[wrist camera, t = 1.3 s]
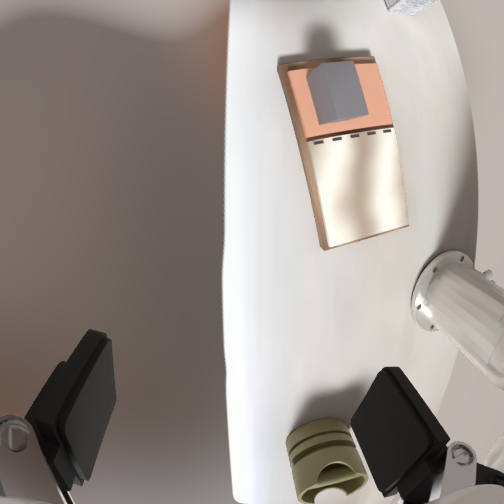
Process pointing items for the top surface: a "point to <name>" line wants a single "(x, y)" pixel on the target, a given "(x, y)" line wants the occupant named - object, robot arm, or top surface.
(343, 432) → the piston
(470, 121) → the top surface
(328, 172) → the board
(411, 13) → the medicine box
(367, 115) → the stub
